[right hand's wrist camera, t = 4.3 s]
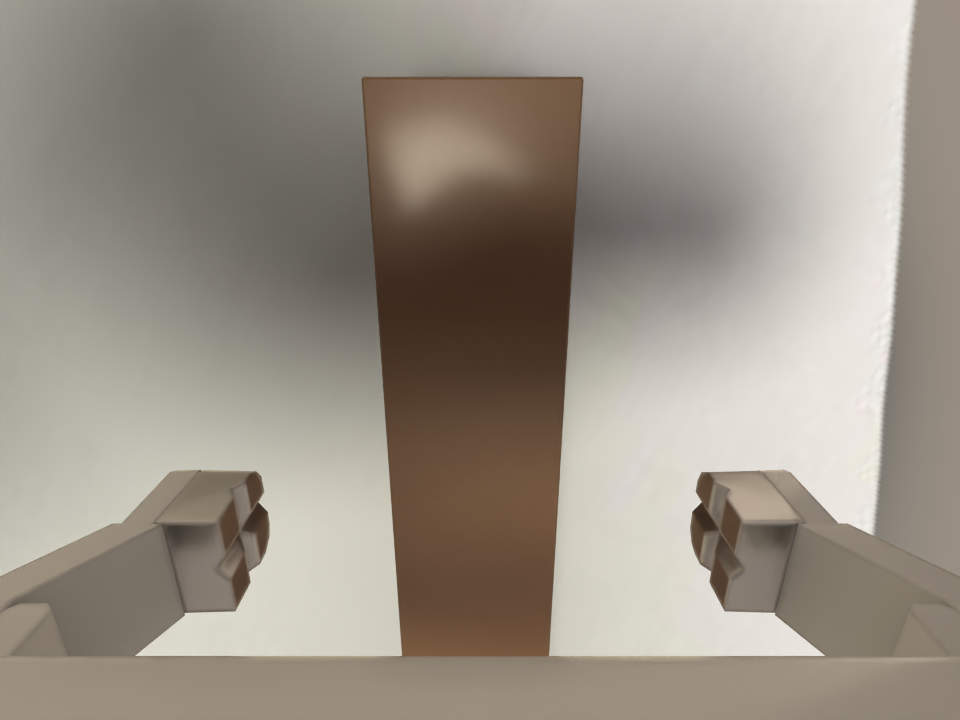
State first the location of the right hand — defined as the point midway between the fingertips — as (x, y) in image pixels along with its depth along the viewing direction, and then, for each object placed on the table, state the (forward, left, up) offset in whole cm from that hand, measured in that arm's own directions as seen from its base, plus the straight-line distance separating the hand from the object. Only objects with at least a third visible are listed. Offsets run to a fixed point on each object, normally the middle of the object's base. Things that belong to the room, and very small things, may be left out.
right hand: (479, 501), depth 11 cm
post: (+17, -19, -13) cm, 29 cm away
